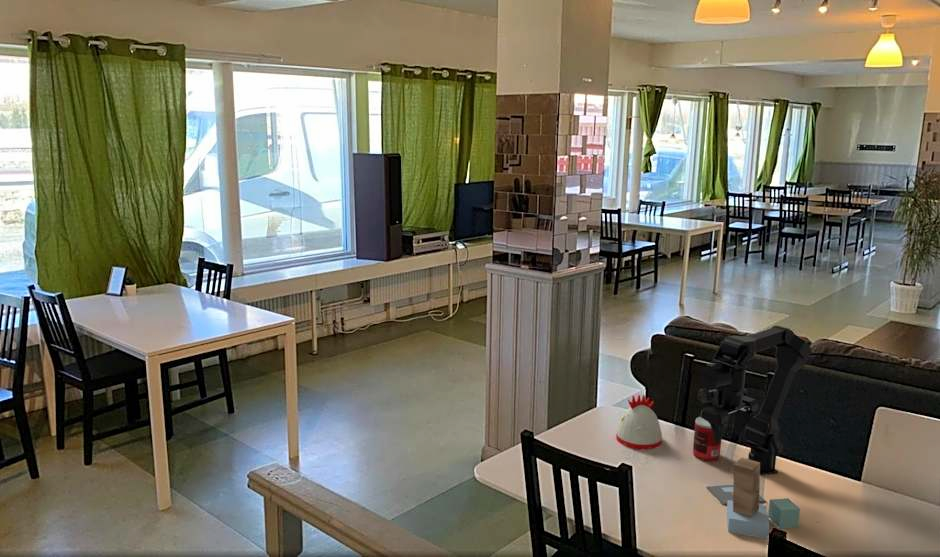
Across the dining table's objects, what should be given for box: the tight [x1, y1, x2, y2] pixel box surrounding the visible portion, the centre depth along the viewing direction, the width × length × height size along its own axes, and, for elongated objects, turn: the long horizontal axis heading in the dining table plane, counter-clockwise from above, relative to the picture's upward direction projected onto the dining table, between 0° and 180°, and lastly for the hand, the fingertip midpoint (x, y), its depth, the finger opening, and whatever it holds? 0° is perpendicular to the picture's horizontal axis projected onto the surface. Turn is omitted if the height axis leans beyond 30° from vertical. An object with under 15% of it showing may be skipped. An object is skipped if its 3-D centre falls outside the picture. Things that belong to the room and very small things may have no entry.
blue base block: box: [725, 500, 770, 539], centre depth 172 cm, size 9×9×4 cm
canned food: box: [692, 416, 722, 462], centre depth 209 cm, size 8×8×11 cm
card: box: [706, 484, 767, 506], centre depth 187 cm, size 12×9×1 cm
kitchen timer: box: [615, 393, 663, 451], centre depth 219 cm, size 14×14×15 cm
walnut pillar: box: [733, 457, 761, 517], centre depth 171 cm, size 4×4×12 cm
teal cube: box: [767, 497, 801, 529], centre depth 174 cm, size 5×5×5 cm
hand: (727, 438), depth 191 cm, fingers open, 9 cm apart
